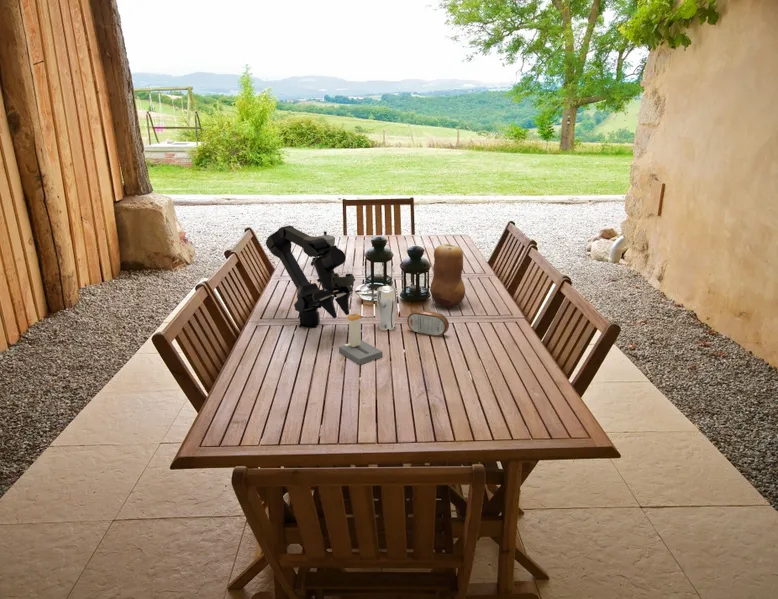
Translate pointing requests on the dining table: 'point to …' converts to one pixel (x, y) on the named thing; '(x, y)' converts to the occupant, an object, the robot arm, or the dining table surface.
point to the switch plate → (360, 352)
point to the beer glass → (386, 306)
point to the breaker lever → (354, 329)
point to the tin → (428, 322)
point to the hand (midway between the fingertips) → (341, 316)
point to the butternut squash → (447, 276)
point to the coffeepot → (328, 239)
